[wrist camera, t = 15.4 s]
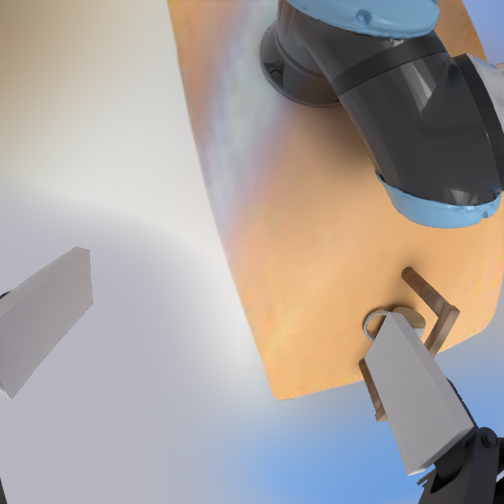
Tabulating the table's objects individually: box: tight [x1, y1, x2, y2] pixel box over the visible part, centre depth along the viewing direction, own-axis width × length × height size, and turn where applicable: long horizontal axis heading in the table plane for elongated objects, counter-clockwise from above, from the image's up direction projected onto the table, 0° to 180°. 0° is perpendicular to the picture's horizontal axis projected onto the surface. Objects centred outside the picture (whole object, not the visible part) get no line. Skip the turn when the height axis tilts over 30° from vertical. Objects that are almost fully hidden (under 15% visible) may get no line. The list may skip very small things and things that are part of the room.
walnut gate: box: [359, 267, 460, 422], centre depth 37 cm, size 22×2×14 cm, turn 168°
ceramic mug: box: [364, 307, 426, 342], centre depth 41 cm, size 11×8×8 cm
